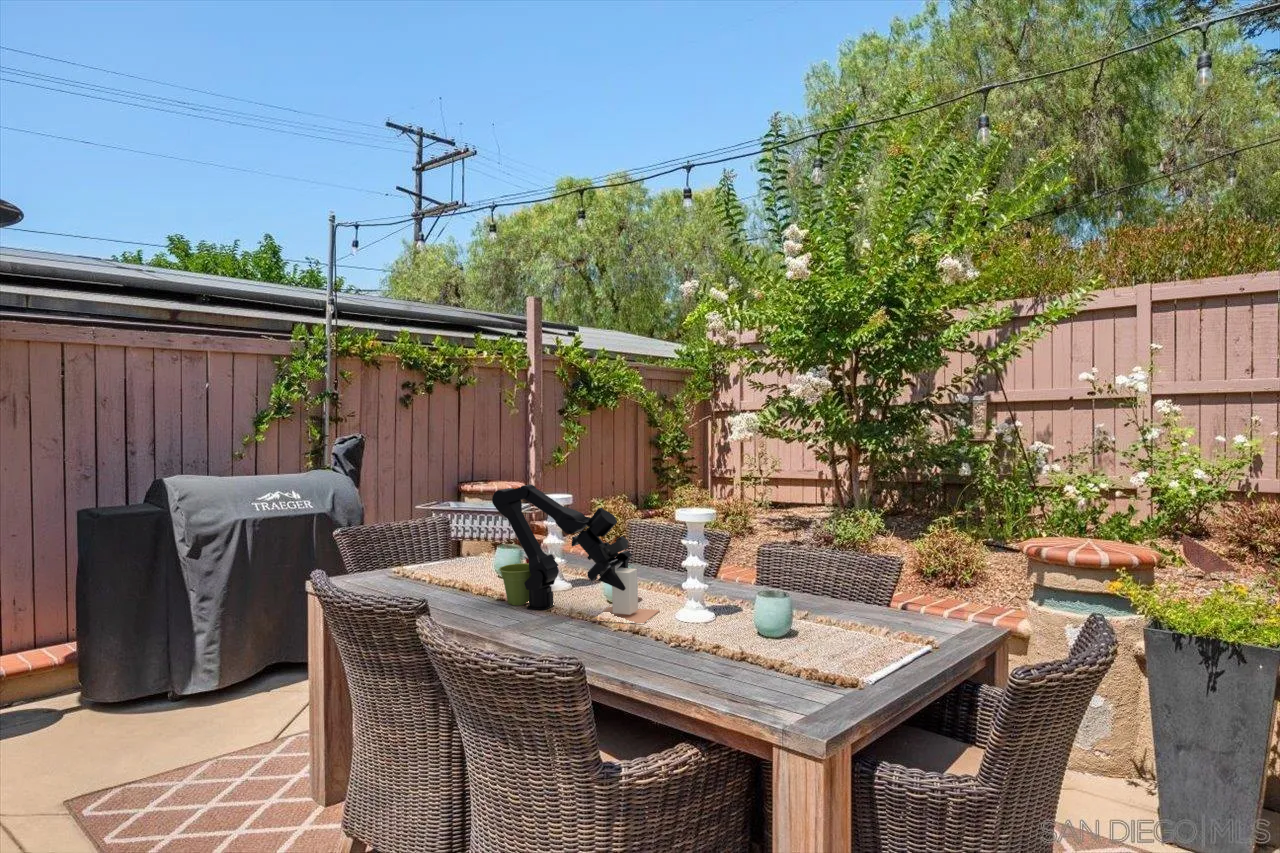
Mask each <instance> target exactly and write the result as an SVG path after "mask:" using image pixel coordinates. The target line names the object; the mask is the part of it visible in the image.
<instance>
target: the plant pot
mask: <svg viewBox="0 0 1280 853" xmlns="http://www.w3.org/2000/svg"><path fill="white" fill-rule="evenodd" d="M498 571H499V572H500V573H501V577H502V580H503V585H504V590H505V594H506V599H507V603H508V605H512V606H523V604H524V605H526V604H527V603H526V602H528V601H529V590H527V589H526V587H525V584H524V583H525V582H526V581H527V579H528V578H529V577H530V576H531V574H530V571H529V564H527V563H526V562H525V563H521V562H520V563H512V564H511V563H510V564H506V565H503V566H500V567H499V569H498ZM525 603H526V604H525Z"/></svg>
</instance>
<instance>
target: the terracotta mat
mask: <svg viewBox="0 0 1280 853" xmlns="http://www.w3.org/2000/svg"><path fill="white" fill-rule="evenodd" d="M601 612H610V613H611V614H614V616H617V617H621V618H625V619H626V620H629V621H634V622H635V623H645V622H646V621H647V620H649V619H650V618H651V619H652V618H654V617H655V616H656V615H657V614H658V613H660V612H661V611H660V609H651V608H650V609H647V608H638V610H637V611H635V612H634V613H632V614H630V615H628V614H619V613H613V606H608V607H606V608H605V609H604V610H602V611H601ZM654 615H655V616H654ZM653 616H654V617H653ZM593 618H594V617H592V618H591V619H590V621H591V622H599V621H598V620H597V619H593ZM651 619H650V620H651ZM650 620H649V621H650ZM646 623H647V622H646ZM646 623H645V624H646Z"/></svg>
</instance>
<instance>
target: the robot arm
mask: <svg viewBox="0 0 1280 853" xmlns="http://www.w3.org/2000/svg"><path fill="white" fill-rule="evenodd" d="M522 500H526V501H527V502H529V503H530V504H531V505H533V506H534V507H536V508H537V509H539V510H540V511H542V512H543V513H544V514H546V515H547V516H549V517H550V518H551V519H553V521H555V523H556V526H557V527H558V528H559V529H560V530H562V532H564V533H565V534H567V535H572V534H575V533H578V534H577V535H575V536H572V537H571V547H575V546H578V545H579V546H580V547H581V548H582V549H583V550H584V552H585V553H586V554H587V556H586V558H587V560H588V561H590V560H592V561H593V562H594V564H593V566H592V567H591V568H590V569H589V570H588V571H587V573H586V574H587V578H588V579H589V581H591V582H594V581H596V580H597V581H598V582H600V583H601V582H602V583H604V584H606V585H609V586H611V587H612V586H613V587H616V588H618V589H620V590H622V591H624V590H625V589H626V588H625V586H624V584H623V583H622V581H621V580H620V579H619V577H618V576H617V574H616V573H615V570H616V569H619V568H629V562H630V559H631V558H632V557H633V554H632V553H631V552H630V551H629V550H628V549H629V540H628V539H627V538H626V537H624V535H621V536H619V537H617V538H616V539H615V541H614V542H613V543H609V542H607V541H606V542H604V541H603V540H602V539H601V537H603V538H604V537H606V536H607V534H608V533H609V532H610V531H611V530H612V529H613V528H614V527H615V525H617V522H618V521H617V520H618V519H617V518H616V516H615V515H614V514H613V513H611V512H610V511H608V510H605V509H604V508H603V507H600V508H599V507H598V508H597V509H596V511H595V513H594V514H593V515H592V516H591V517H589V516H586V515H585V514H584V513H582V512H580V511H578V510H575V509H573V508H569V507H565V506H563V505H562V504H560V503H559V502H557V501H556V500H554V499H553V498H551V497H550V496H549V495H547V494H545V493H544V492H542V491H541V490H539V489H538V488H536V486H535V485H533V484H525V485H522V486H519V487H517V488H513V487H510V488H504V489H499V490H496V491H495V492H494V493H493V495H492V498H491V502H492V504H493V506H494V507H495V509H496V510H497V511H498V513H500V515H502V516H503V517H504V518H505V519H507V521H508V522H509V525H510V526H511V528H512V530H513V532H514V534H515V536H516V538H517V539H518V542H519V544H520V545H521V547H522V550H523V551H524V554H526V555H527V557H528V559H529V571H530V574H531V576H530V577H529V578H528V579H527V581H526V582H525V583H524V584H525V587H526V589H527V590H529V603H528V604H529V605H528V606H526V609H527V610H541V611H546V610H548V609H549V608H548V607H550V606H552V605H553V603H554V604H555V602H554V591H553V590H552V585H555V581H556V579H557V578H558V577H559V574H560V573H559V572H560V571H559V567H558V566H559V564H558V563H557V561H556V558H555V559H554V557H553V555H552V554H553V553H551V554H550V555H546V554H545V553H546V552H545V553H544V551H543V549H542V547H541V545H540V544H539V542H538V539H537V538H536V536H535V534H534V533H533V532H534V531H533V530H532V528H531V526H530V524H529V522H528V521H527V519H526V517H525V515H524V513H523V509H522V505H523V504H522ZM585 528H586V529H585ZM598 576H599V578H598ZM553 606H554V605H553ZM553 606H552V607H553ZM547 608H548V609H547ZM550 608H551V607H550Z"/></svg>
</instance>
